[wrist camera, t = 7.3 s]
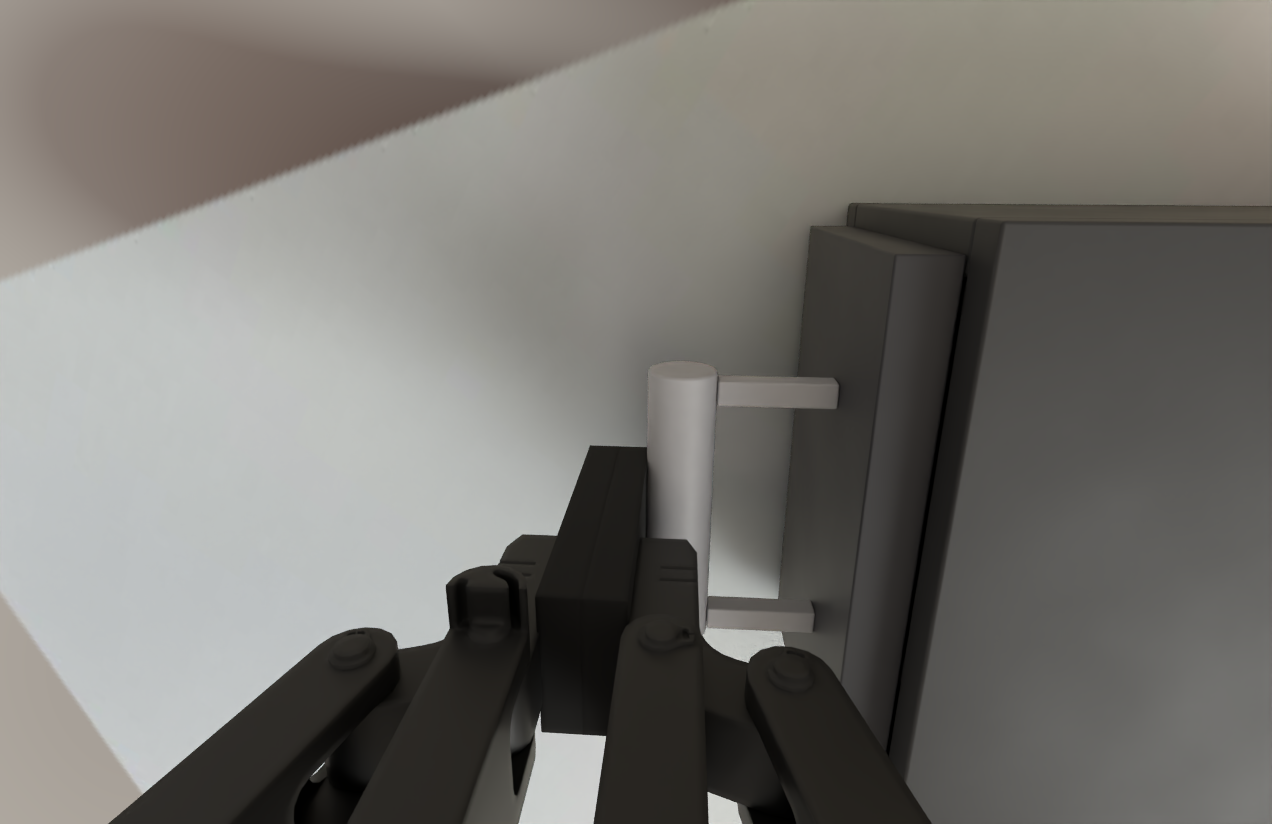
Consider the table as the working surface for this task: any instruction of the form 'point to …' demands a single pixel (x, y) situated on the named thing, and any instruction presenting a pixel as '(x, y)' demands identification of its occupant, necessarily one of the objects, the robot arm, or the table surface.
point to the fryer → (1096, 520)
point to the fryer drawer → (831, 456)
